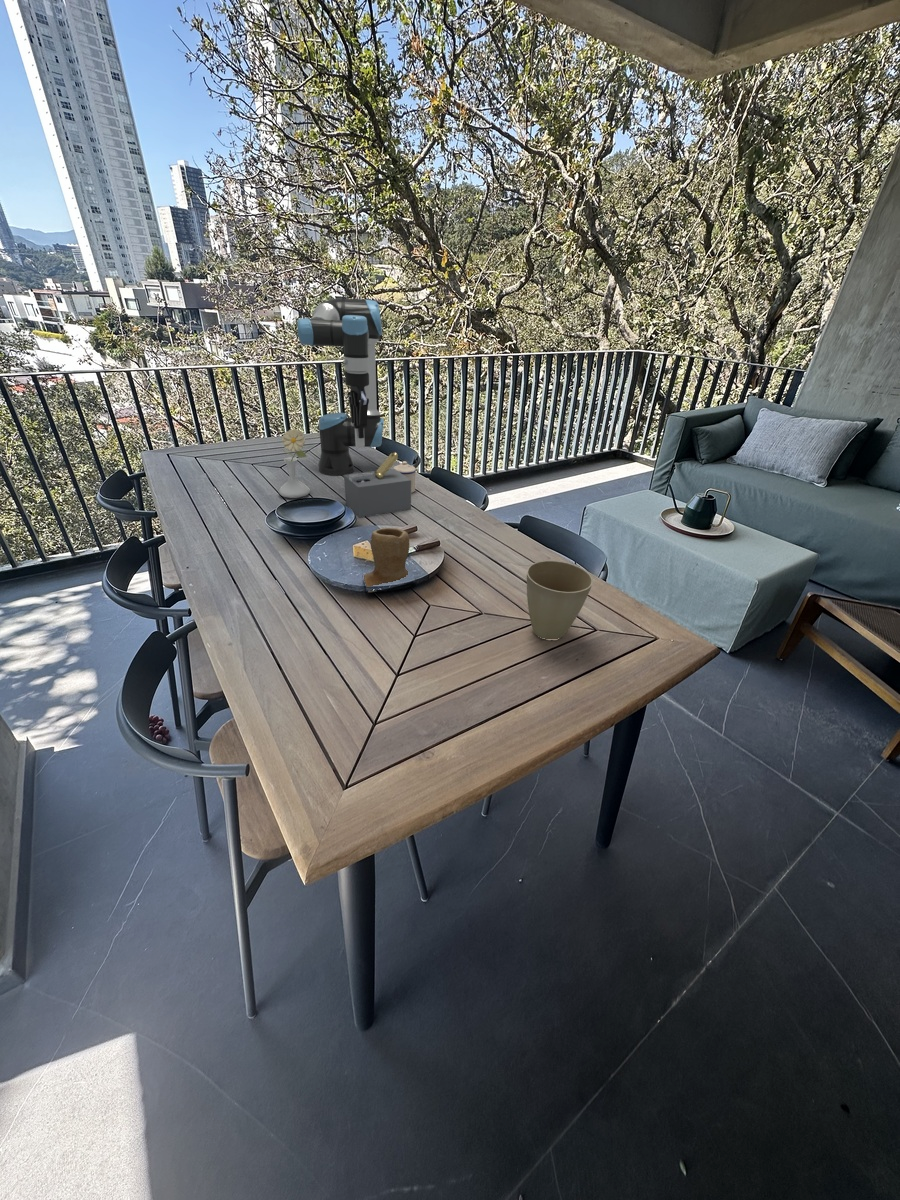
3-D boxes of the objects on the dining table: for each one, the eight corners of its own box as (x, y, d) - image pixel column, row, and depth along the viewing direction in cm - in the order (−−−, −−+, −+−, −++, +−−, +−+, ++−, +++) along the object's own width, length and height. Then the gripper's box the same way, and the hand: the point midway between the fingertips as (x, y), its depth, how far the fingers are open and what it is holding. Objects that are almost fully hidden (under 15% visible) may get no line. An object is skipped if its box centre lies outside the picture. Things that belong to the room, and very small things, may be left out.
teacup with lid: (410, 485, 205) (411, 457, 199) (419, 493, 198) (419, 464, 192) (383, 488, 201) (382, 460, 194) (390, 496, 194) (390, 466, 187)
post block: (345, 503, 185) (343, 474, 179) (394, 496, 194) (394, 468, 188) (359, 517, 175) (358, 487, 169) (410, 509, 183) (411, 480, 178)
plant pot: (566, 659, 113) (580, 599, 104) (507, 636, 119) (515, 578, 111) (588, 628, 124) (601, 572, 115) (533, 608, 130) (542, 554, 121)
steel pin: (350, 506, 180) (348, 474, 174) (370, 503, 184) (369, 472, 178) (353, 509, 178) (351, 477, 172) (374, 505, 182) (373, 474, 176)
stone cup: (402, 567, 145) (403, 519, 137) (420, 586, 137) (422, 536, 129) (353, 578, 139) (350, 528, 131) (368, 598, 130) (366, 546, 122)
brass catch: (376, 476, 180) (373, 473, 179) (395, 453, 180) (392, 450, 178) (381, 479, 177) (378, 477, 176) (400, 456, 176) (397, 453, 175)
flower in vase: (272, 497, 187) (262, 428, 173) (291, 488, 196) (283, 422, 182) (301, 503, 183) (294, 434, 169) (320, 494, 192) (313, 427, 179)
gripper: (338, 368, 160) (342, 443, 173) (353, 375, 151) (356, 453, 163) (360, 368, 163) (363, 441, 176) (376, 374, 154) (378, 451, 166)
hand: (360, 447), depth 169 cm, fingers closed
